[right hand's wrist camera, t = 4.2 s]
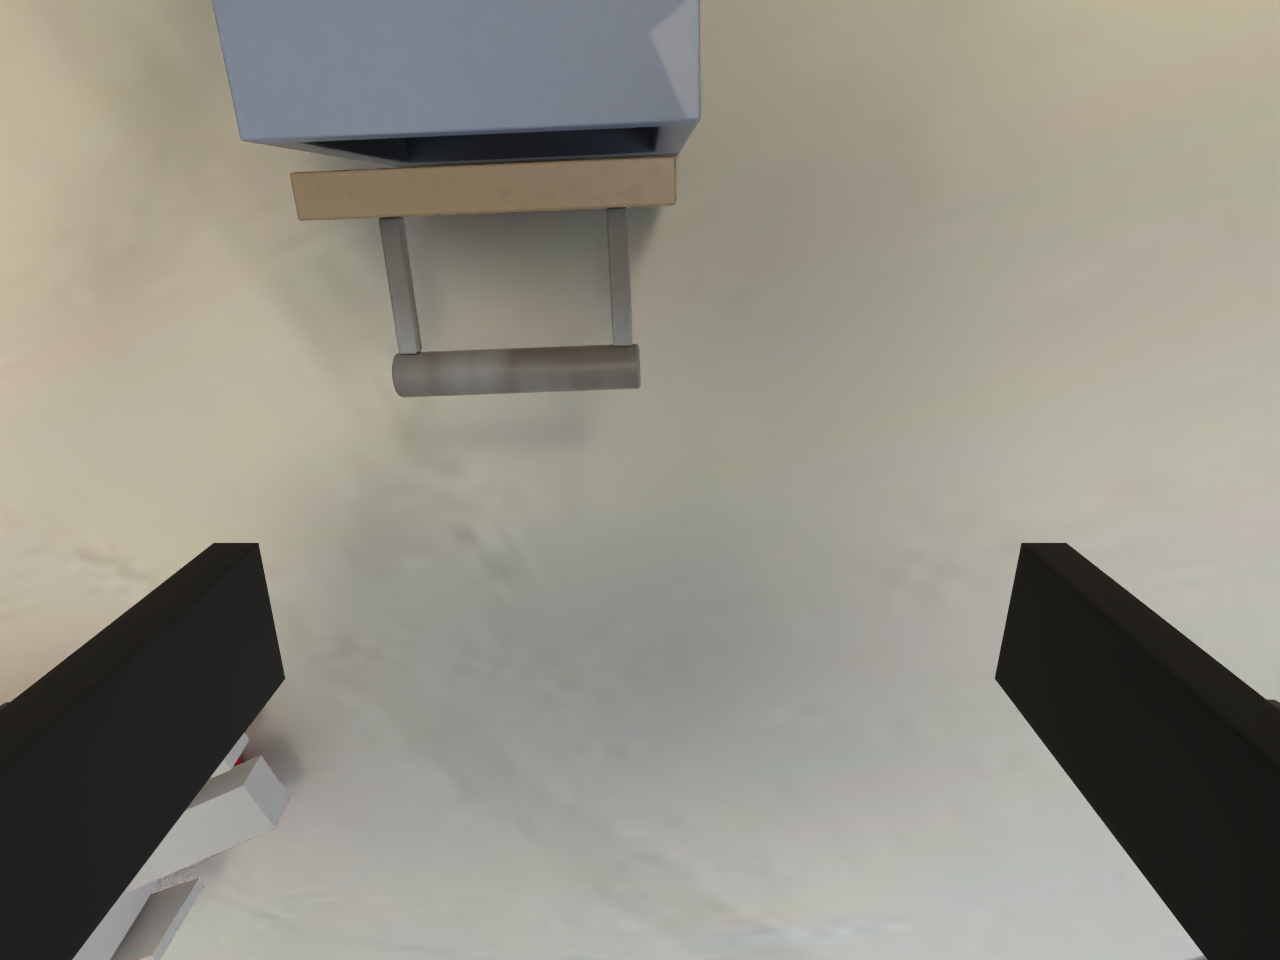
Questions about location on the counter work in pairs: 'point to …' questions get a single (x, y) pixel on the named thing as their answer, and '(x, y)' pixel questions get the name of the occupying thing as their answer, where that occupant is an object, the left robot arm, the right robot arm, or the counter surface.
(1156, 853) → the right robot arm
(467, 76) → the cabinet
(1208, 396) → the counter surface
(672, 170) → the drawer
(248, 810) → the toy
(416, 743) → the counter surface
